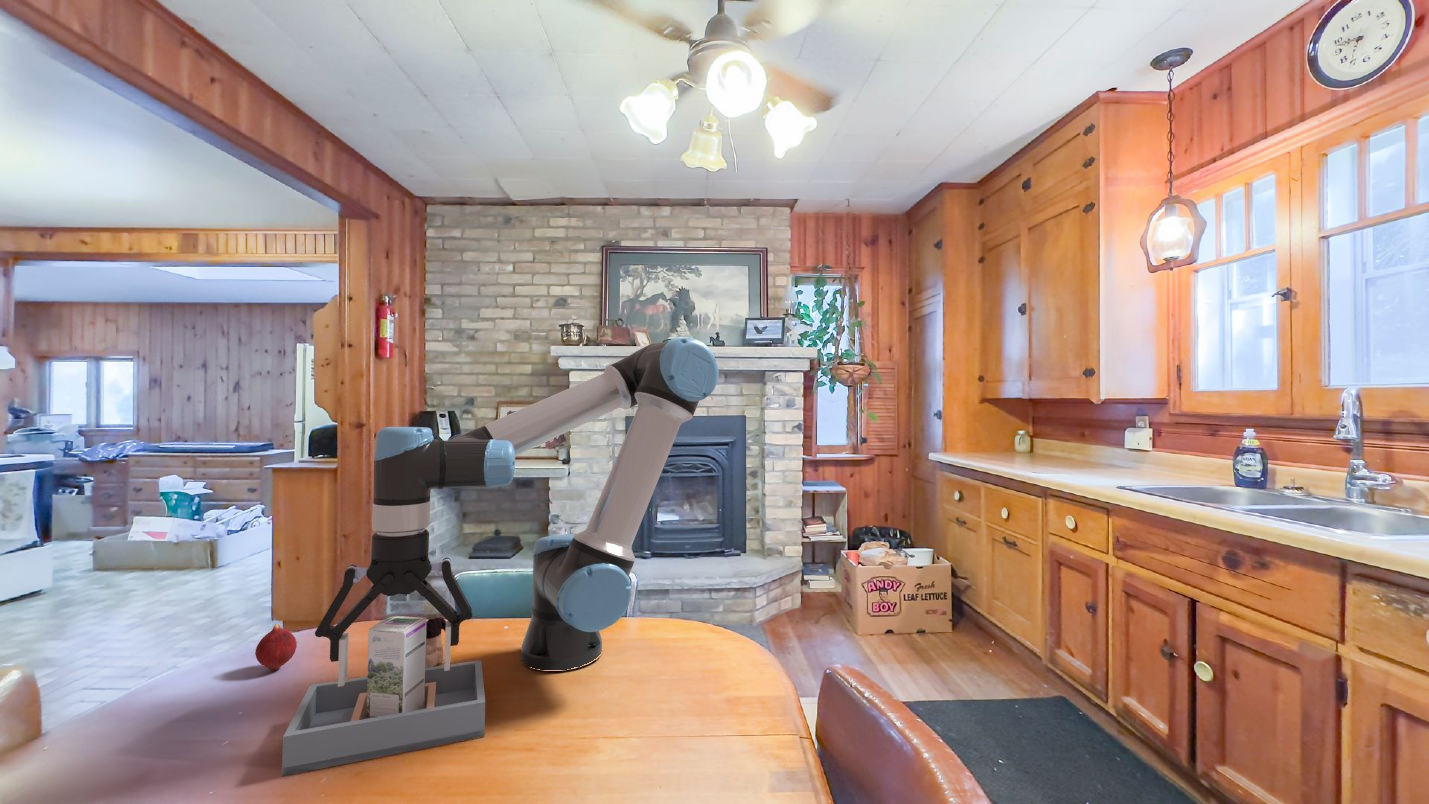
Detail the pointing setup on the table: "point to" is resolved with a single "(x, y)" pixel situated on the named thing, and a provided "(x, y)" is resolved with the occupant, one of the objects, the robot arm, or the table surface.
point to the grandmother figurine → (433, 636)
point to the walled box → (382, 720)
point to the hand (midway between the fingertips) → (396, 674)
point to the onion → (276, 648)
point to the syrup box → (396, 666)
